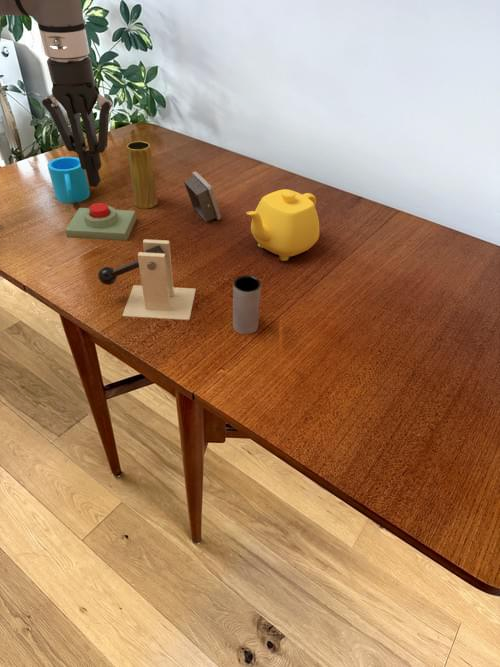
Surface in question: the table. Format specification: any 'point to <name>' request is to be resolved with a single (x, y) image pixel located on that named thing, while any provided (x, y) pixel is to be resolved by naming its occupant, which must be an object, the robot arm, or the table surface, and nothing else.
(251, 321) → the gray hollow cylinder
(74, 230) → the button base
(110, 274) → the lever
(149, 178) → the vase
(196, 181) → the electrical switch
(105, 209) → the button
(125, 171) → the table surface
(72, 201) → the mug
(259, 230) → the teapot
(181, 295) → the bracket
